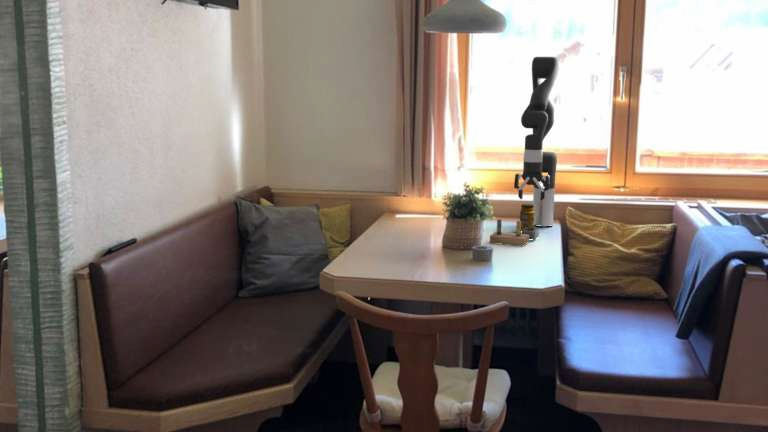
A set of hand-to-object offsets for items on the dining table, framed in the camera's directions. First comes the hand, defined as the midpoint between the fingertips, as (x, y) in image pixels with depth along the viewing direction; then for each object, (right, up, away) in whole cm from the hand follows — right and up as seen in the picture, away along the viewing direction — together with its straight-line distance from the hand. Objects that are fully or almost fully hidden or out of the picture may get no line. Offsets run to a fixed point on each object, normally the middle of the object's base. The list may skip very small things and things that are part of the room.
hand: (531, 199), depth 329 cm
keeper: (-10, -17, -5) cm, 20 cm away
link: (0, -16, +3) cm, 17 cm away
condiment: (0, -14, +17) cm, 22 cm away
